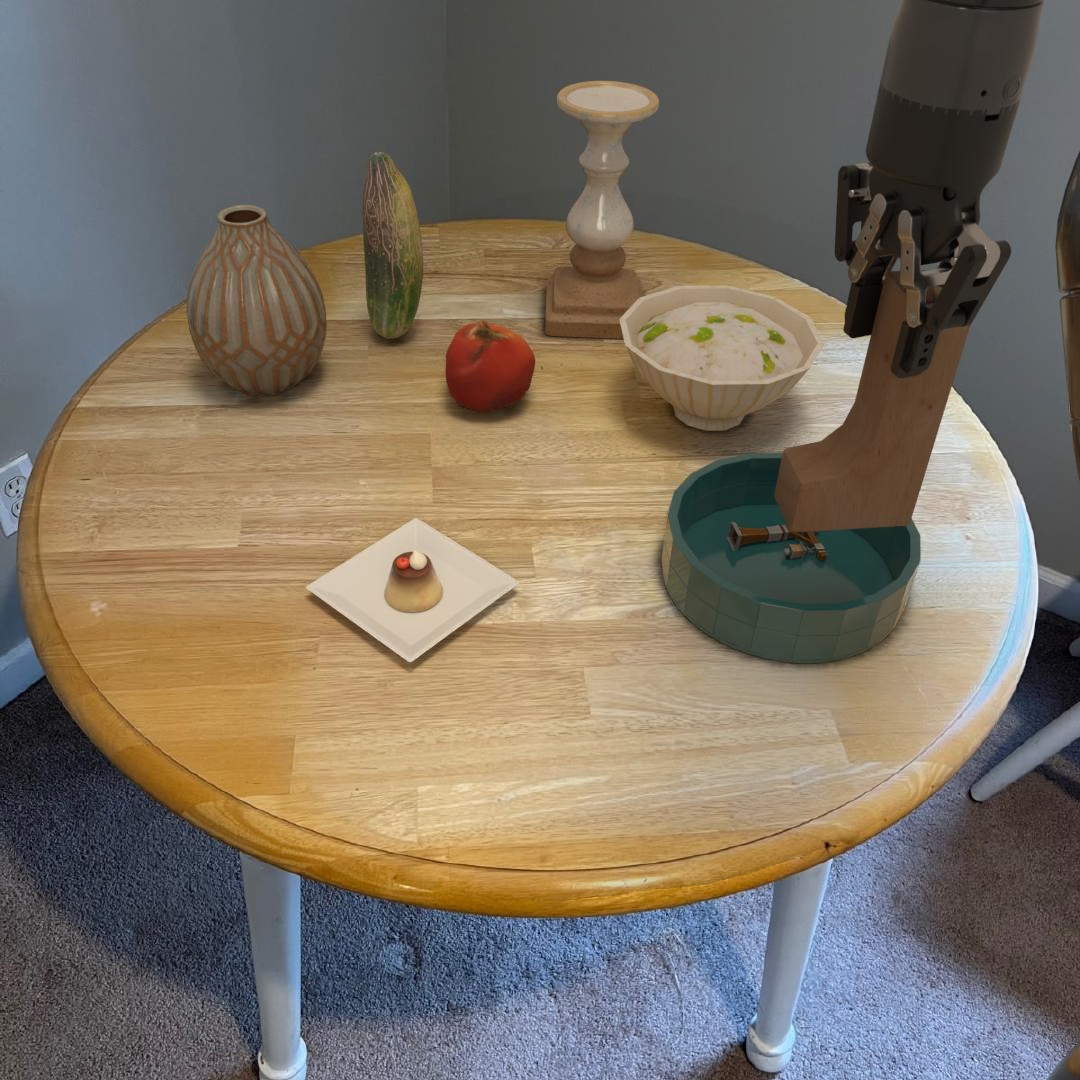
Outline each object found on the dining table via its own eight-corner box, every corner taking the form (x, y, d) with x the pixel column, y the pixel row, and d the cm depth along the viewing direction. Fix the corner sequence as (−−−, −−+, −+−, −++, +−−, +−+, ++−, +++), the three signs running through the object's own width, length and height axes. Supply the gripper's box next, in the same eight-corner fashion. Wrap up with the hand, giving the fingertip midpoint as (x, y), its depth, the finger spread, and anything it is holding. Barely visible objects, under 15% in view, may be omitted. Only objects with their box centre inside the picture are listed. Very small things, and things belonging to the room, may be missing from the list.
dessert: (306, 597, 87) (299, 551, 83) (416, 527, 94) (413, 482, 90) (410, 673, 81) (407, 626, 78) (520, 592, 88) (521, 546, 85)
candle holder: (644, 339, 119) (667, 117, 104) (544, 336, 119) (551, 113, 104) (640, 292, 127) (660, 80, 112) (546, 289, 128) (553, 76, 112)
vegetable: (407, 317, 122) (397, 137, 109) (439, 339, 118) (432, 156, 105) (360, 333, 119) (344, 149, 106) (391, 357, 115) (379, 170, 102)
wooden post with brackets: (839, 548, 90) (818, 514, 94) (748, 555, 89) (730, 519, 92) (833, 565, 91) (812, 530, 95) (743, 571, 90) (725, 536, 93)
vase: (239, 429, 104) (208, 258, 93) (178, 371, 112) (143, 207, 100) (357, 385, 111) (341, 220, 99) (292, 333, 118) (271, 175, 107)
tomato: (505, 366, 114) (505, 297, 109) (552, 408, 108) (555, 337, 103) (426, 390, 110) (422, 319, 105) (471, 435, 104) (470, 362, 99)
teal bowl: (954, 627, 86) (974, 575, 82) (734, 690, 80) (745, 637, 77) (819, 484, 100) (830, 434, 96) (623, 530, 94) (628, 478, 90)
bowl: (584, 375, 113) (589, 287, 107) (752, 349, 118) (766, 263, 112) (657, 483, 99) (668, 389, 93) (844, 449, 104) (866, 357, 98)
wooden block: (789, 535, 77) (839, 304, 66) (771, 496, 81) (816, 271, 69) (910, 527, 78) (981, 299, 67) (888, 490, 82) (951, 266, 70)
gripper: (822, 50, 64) (775, 312, 75) (980, 132, 54) (899, 422, 65) (928, 40, 66) (867, 296, 77) (1099, 117, 56) (1001, 400, 67)
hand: (882, 352), depth 71 cm, fingers closed on wooden block, 4 cm apart
